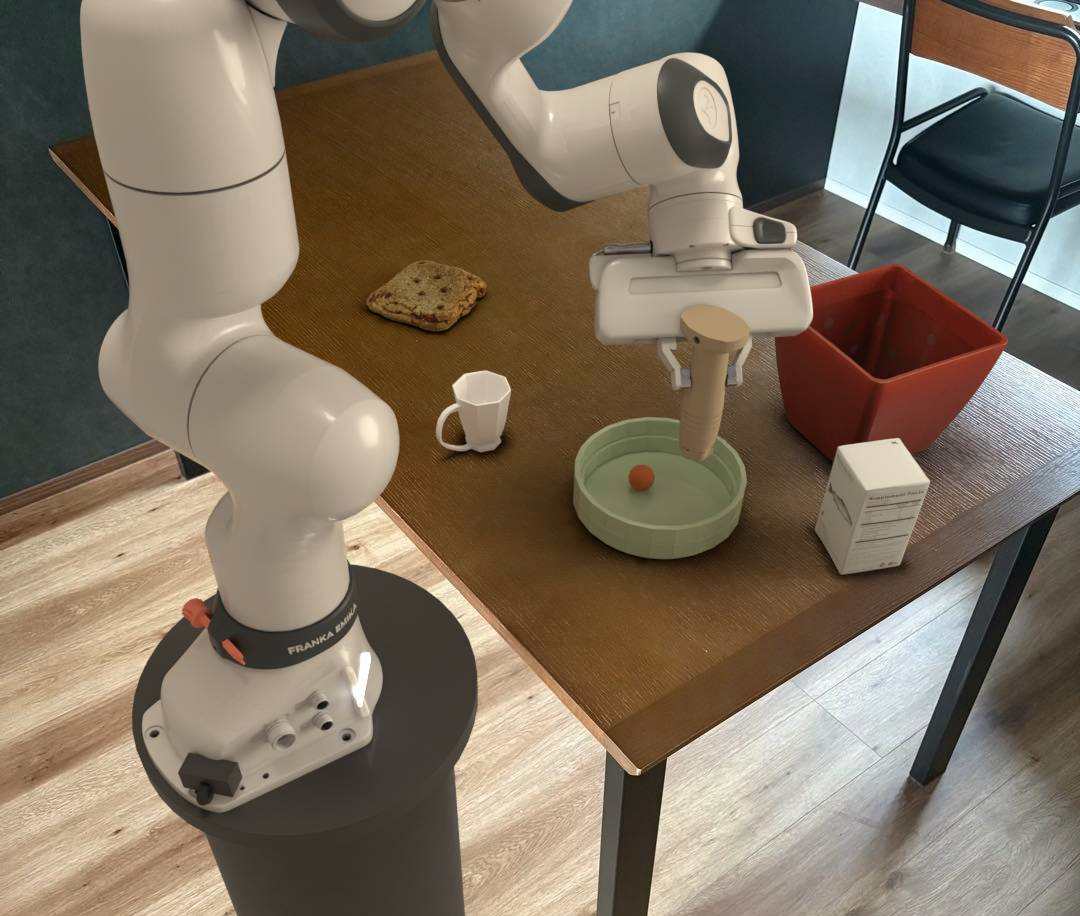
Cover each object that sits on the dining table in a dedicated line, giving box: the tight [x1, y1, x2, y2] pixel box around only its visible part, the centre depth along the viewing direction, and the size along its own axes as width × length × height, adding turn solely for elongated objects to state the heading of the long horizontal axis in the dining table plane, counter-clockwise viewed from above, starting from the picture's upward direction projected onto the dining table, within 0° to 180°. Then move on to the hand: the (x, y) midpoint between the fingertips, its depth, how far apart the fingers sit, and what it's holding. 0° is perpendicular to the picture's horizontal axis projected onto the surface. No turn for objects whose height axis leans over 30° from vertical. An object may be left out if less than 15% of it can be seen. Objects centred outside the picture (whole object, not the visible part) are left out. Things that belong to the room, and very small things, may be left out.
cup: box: [435, 369, 512, 453], centre depth 129 cm, size 7×10×8 cm
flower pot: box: [774, 263, 1009, 464], centre depth 128 cm, size 19×19×17 cm
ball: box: [629, 465, 655, 491], centre depth 124 cm, size 3×3×3 cm
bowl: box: [572, 416, 748, 560], centre depth 123 cm, size 19×19×5 cm
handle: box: [679, 304, 750, 462], centre depth 101 cm, size 5×6×15 cm
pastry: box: [365, 259, 487, 332], centre depth 153 cm, size 17×17×3 cm
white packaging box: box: [814, 438, 931, 575], centre depth 115 cm, size 7×7×13 cm
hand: (707, 387), depth 100 cm, fingers closed on handle, 3 cm apart
